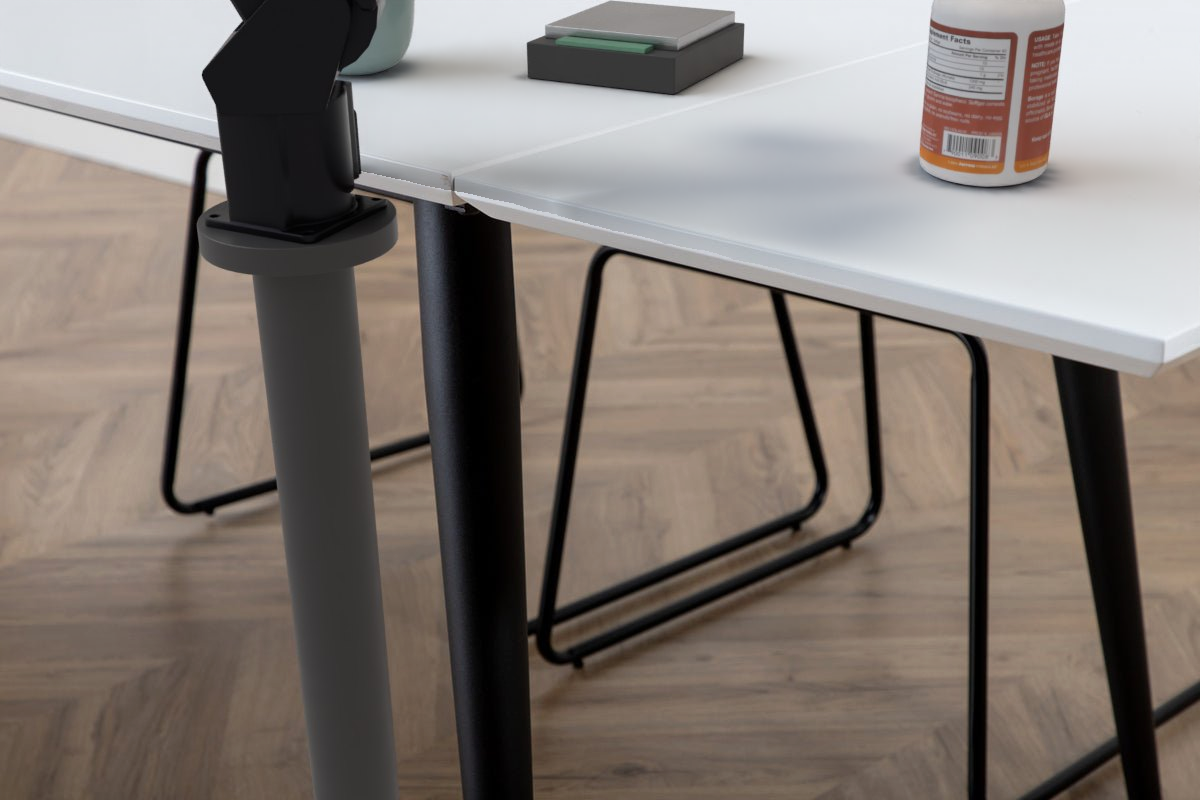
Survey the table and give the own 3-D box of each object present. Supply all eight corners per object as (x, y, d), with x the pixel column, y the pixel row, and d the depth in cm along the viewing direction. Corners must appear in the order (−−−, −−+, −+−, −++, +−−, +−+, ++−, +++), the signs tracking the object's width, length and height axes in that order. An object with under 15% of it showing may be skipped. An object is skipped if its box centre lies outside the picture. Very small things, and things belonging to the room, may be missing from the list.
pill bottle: (1012, 149, 75) (1038, -74, 71) (1068, 185, 70) (1101, -55, 65) (898, 157, 74) (917, -70, 70) (946, 193, 69) (970, -50, 64)
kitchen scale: (674, 94, 86) (675, 43, 85) (527, 77, 90) (525, 29, 89) (743, 57, 95) (745, 10, 94) (606, 43, 99) (606, -2, 98)
